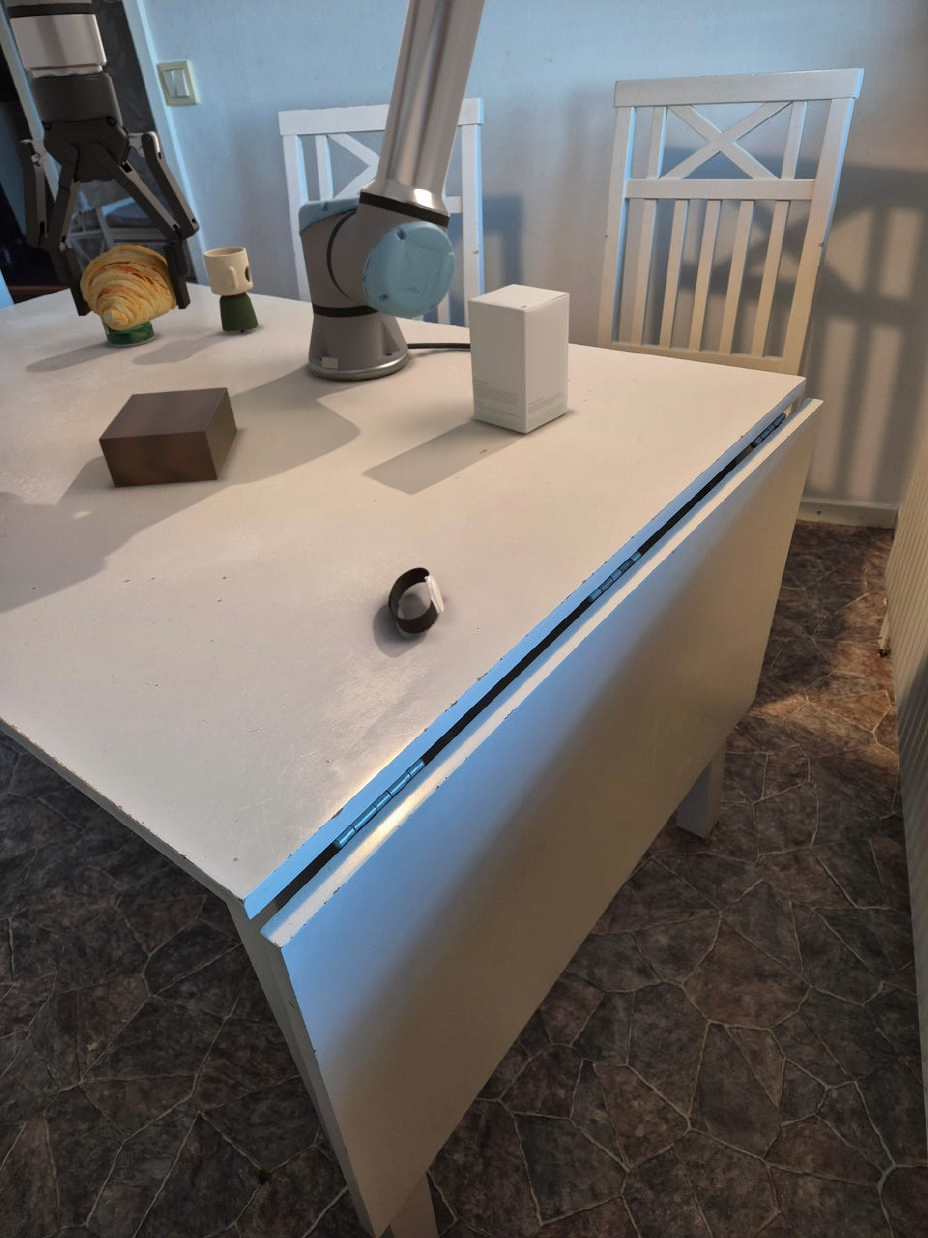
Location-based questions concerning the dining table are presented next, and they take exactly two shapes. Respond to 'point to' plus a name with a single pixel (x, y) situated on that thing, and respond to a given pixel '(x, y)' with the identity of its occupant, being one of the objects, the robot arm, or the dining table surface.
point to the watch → (404, 584)
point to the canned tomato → (129, 335)
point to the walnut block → (170, 437)
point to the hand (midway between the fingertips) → (135, 309)
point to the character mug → (231, 287)
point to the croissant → (128, 286)
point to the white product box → (519, 356)
